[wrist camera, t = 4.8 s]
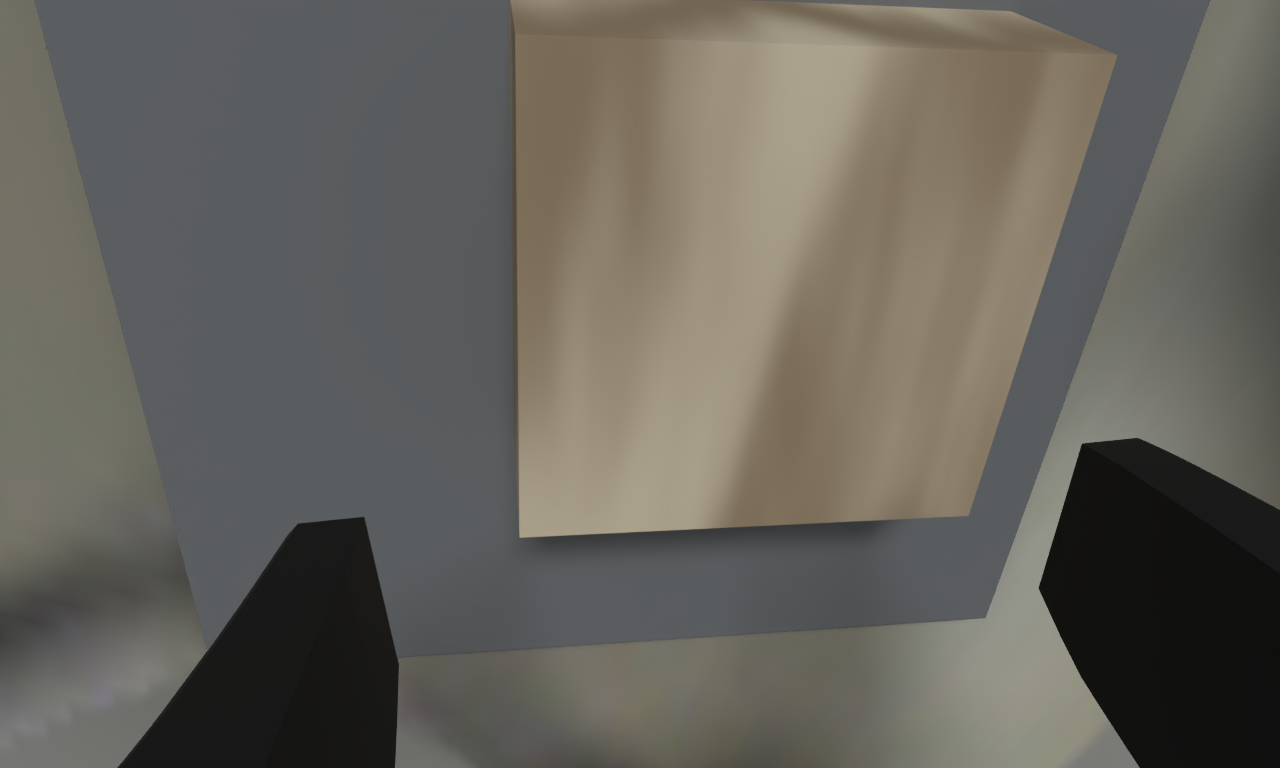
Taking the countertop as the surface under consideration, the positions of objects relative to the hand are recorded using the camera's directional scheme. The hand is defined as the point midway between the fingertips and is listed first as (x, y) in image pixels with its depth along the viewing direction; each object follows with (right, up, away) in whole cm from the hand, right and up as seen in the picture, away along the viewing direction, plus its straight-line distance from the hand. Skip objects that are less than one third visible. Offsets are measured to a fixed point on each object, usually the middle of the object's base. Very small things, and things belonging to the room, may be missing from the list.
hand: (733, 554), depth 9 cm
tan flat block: (-3, +3, +5) cm, 7 cm away
